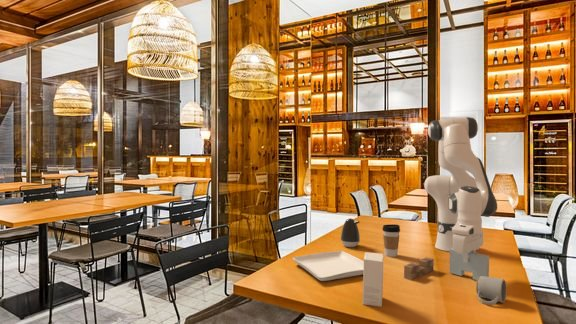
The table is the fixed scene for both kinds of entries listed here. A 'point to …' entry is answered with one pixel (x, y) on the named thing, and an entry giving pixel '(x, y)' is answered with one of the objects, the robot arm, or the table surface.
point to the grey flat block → (469, 264)
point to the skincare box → (373, 279)
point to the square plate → (331, 265)
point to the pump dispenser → (350, 233)
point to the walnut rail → (418, 268)
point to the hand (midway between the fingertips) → (468, 260)
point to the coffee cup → (391, 239)
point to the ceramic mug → (491, 289)
